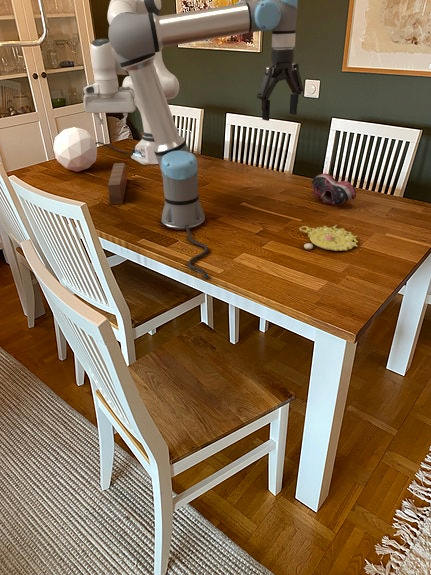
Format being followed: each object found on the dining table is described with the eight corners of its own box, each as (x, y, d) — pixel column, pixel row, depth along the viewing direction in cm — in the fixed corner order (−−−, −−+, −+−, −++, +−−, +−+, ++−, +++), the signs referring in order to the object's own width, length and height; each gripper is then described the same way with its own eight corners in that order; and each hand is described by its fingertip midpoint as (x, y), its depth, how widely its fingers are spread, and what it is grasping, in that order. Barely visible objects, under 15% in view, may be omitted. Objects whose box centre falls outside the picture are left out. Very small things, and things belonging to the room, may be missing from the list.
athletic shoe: (320, 172, 177) (296, 180, 173) (357, 167, 157) (330, 175, 153) (326, 200, 180) (302, 208, 176) (363, 198, 160) (336, 207, 156)
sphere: (84, 186, 210) (70, 160, 191) (54, 166, 215) (37, 139, 196) (110, 158, 215) (99, 131, 196) (80, 139, 219) (66, 110, 201)
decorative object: (343, 255, 128) (285, 234, 139) (342, 262, 130) (284, 241, 140) (372, 230, 142) (317, 213, 152) (371, 237, 143) (316, 219, 153)
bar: (122, 203, 172) (119, 184, 168) (110, 204, 172) (107, 185, 168) (127, 180, 195) (124, 162, 191) (116, 181, 195) (113, 163, 191)
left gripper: (135, 85, 174) (139, 121, 181) (84, 86, 175) (90, 122, 183) (131, 88, 169) (136, 125, 176) (79, 89, 170) (86, 126, 178)
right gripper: (300, 45, 153) (295, 110, 164) (246, 51, 140) (246, 121, 151) (317, 46, 148) (311, 113, 159) (263, 52, 135) (261, 124, 146)
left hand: (112, 124), depth 180 cm, fingers open, 8 cm apart
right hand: (279, 117), depth 155 cm, fingers open, 13 cm apart
